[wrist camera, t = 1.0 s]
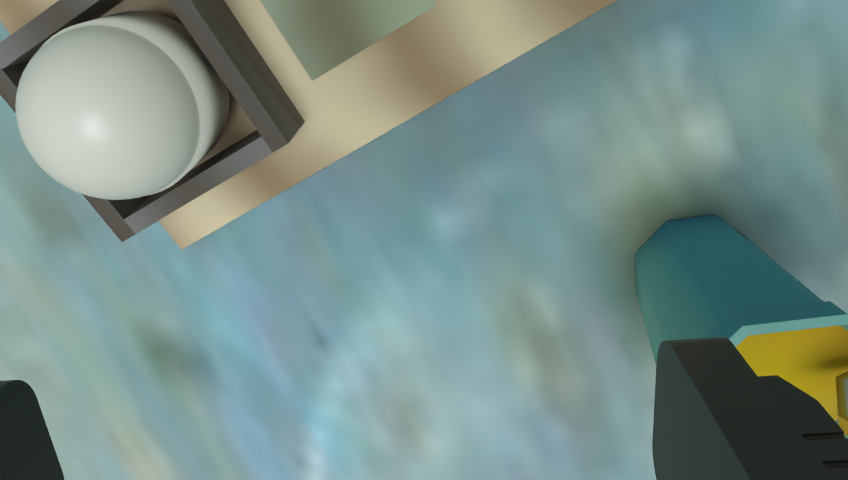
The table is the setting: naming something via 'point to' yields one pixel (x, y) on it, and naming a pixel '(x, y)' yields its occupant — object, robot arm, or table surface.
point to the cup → (742, 307)
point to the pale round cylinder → (121, 105)
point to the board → (299, 82)
